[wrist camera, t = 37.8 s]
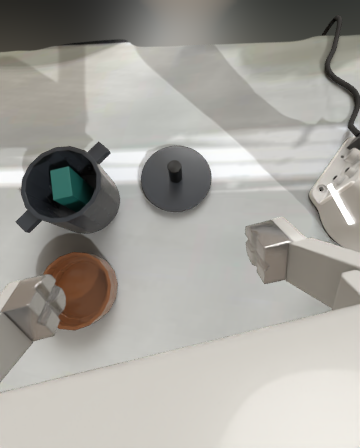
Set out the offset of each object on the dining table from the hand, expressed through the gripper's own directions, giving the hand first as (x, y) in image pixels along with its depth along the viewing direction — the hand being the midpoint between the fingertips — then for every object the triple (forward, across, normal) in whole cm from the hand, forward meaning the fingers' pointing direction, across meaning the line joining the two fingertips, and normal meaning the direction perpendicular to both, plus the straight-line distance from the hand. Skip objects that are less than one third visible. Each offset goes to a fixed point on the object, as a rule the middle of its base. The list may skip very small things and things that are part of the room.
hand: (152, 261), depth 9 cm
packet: (+34, +14, +10) cm, 38 cm away
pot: (+34, +15, +10) cm, 38 cm away
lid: (+34, -3, +10) cm, 35 cm away
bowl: (+23, +17, +22) cm, 36 cm away
